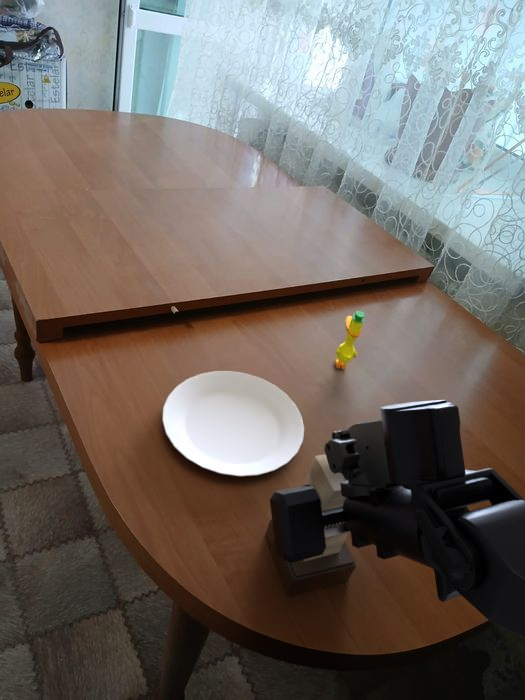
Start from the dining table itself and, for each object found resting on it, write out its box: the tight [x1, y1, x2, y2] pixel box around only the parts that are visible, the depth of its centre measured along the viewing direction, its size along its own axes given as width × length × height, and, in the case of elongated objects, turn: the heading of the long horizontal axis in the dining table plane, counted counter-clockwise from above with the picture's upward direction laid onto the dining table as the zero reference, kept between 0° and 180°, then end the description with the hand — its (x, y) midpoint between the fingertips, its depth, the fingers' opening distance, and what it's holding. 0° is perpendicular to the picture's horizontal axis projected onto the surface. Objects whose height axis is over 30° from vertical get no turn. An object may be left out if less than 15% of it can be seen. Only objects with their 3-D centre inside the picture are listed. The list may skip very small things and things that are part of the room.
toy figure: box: [334, 310, 366, 370], centre depth 94 cm, size 7×4×12 cm, turn 1°
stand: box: [264, 518, 357, 597], centre depth 65 cm, size 8×8×4 cm
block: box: [304, 454, 350, 562], centre depth 60 cm, size 5×5×13 cm
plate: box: [161, 370, 305, 477], centre depth 80 cm, size 21×21×2 cm
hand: (322, 495), depth 61 cm, fingers open, 8 cm apart
